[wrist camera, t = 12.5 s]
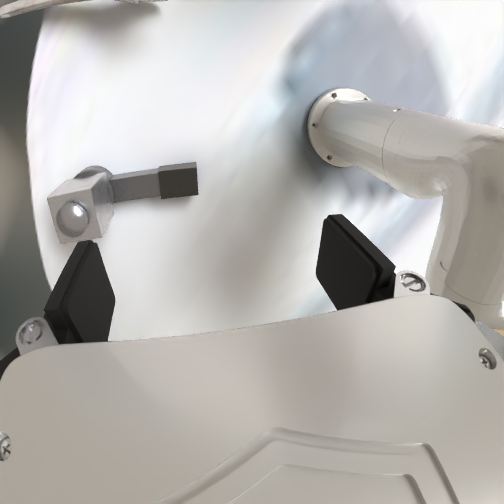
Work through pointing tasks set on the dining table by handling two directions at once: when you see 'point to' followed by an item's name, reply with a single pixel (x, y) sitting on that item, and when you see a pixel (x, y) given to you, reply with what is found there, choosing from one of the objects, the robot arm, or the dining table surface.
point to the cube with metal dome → (81, 208)
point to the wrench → (43, 5)
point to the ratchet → (150, 182)
